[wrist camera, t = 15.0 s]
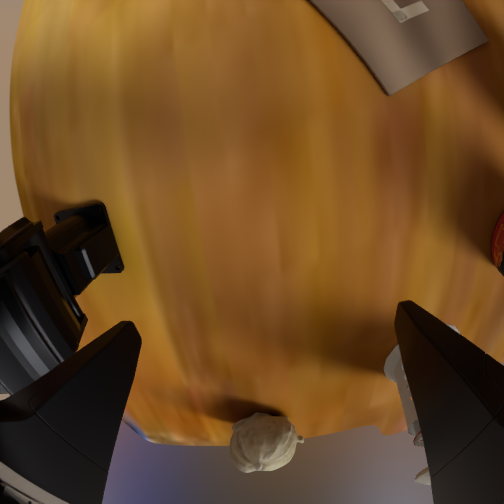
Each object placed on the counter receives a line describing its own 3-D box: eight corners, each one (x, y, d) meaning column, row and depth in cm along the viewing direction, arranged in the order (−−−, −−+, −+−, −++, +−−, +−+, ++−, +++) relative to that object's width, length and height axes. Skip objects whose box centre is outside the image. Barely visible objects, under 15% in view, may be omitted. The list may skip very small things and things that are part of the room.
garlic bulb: (243, 409, 36) (211, 460, 29) (253, 390, 31) (214, 452, 24) (298, 434, 34) (270, 488, 27) (318, 419, 29) (288, 485, 22)
